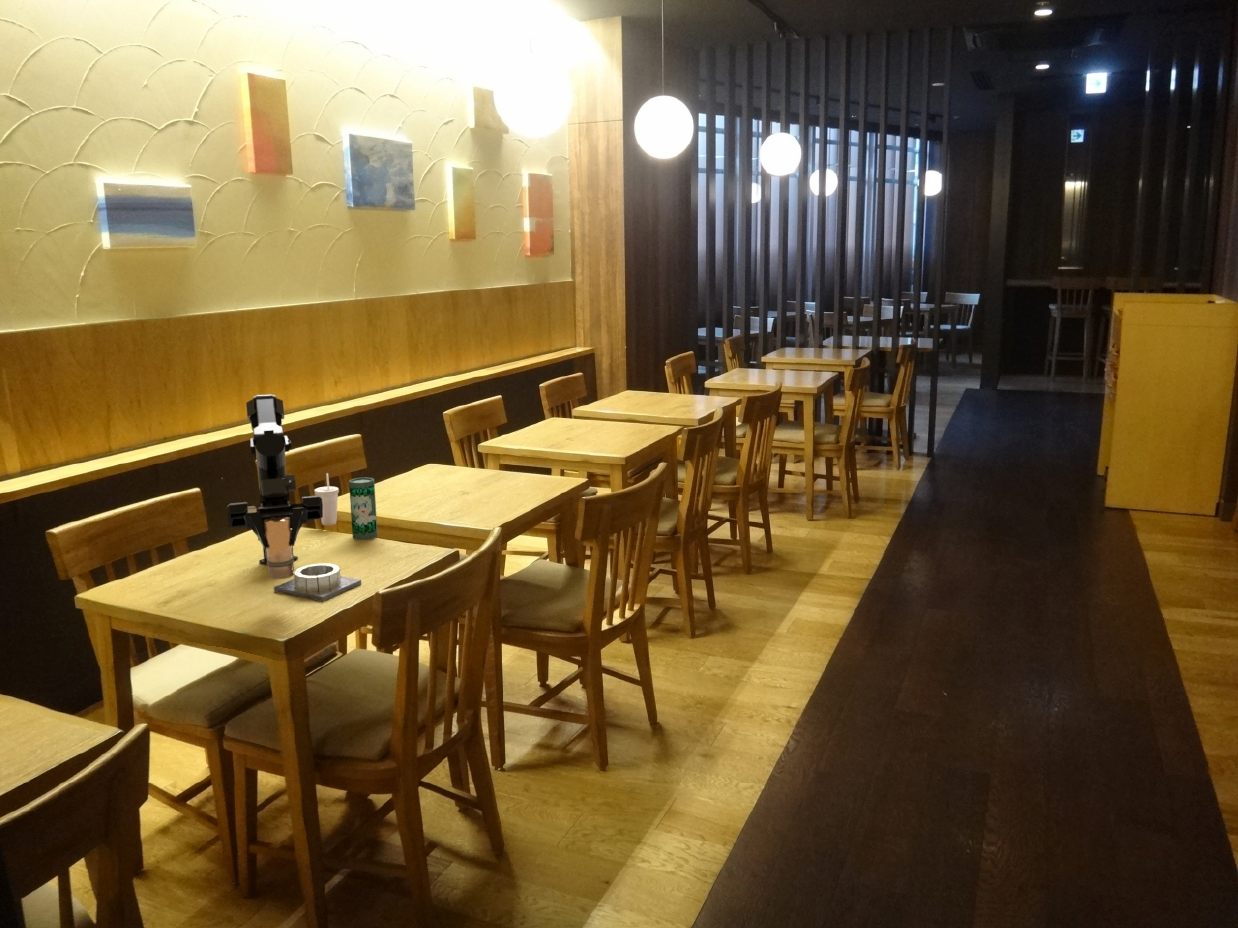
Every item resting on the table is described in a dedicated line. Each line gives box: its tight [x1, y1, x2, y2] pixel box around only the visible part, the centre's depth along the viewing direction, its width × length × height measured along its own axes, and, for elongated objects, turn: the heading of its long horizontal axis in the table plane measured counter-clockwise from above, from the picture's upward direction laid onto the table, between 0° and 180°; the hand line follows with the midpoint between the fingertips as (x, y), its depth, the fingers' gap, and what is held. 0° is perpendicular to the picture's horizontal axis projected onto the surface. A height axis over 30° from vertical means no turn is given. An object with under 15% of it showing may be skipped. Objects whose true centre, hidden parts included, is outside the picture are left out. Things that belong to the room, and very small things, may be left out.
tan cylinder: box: [264, 516, 295, 580], centre depth 202 cm, size 5×5×12 cm
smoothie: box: [313, 472, 340, 526], centre depth 264 cm, size 6×6×14 cm
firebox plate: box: [273, 563, 362, 602], centre depth 216 cm, size 14×12×4 cm
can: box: [348, 477, 378, 541], centre depth 252 cm, size 6×6×15 cm
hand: (279, 546), depth 200 cm, fingers closed on tan cylinder, 5 cm apart
